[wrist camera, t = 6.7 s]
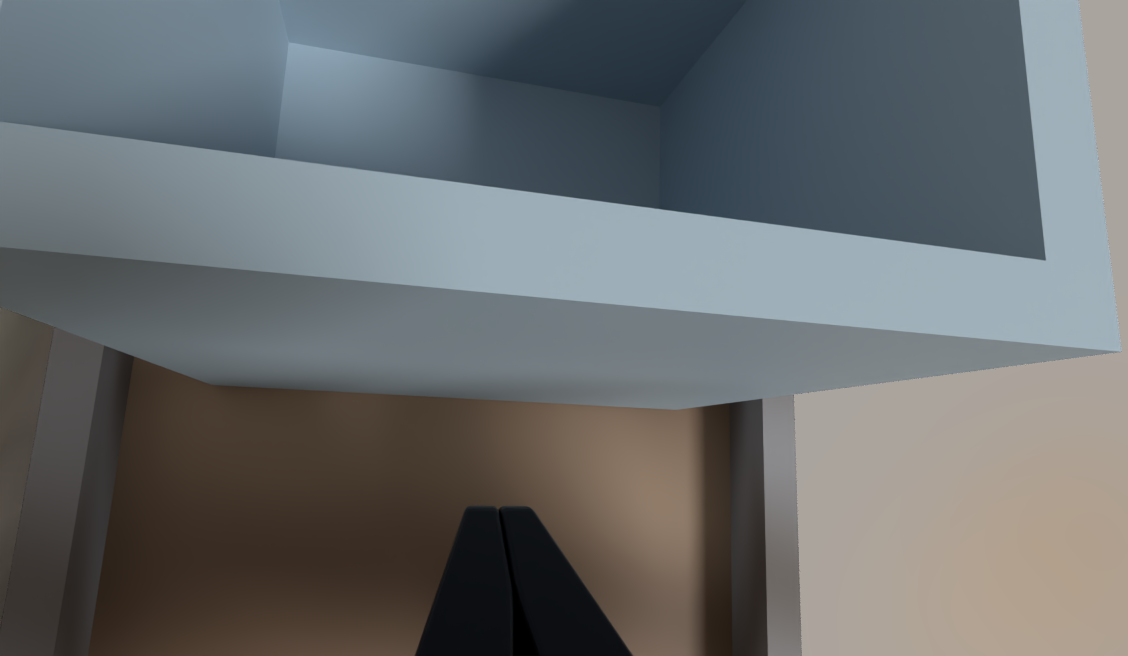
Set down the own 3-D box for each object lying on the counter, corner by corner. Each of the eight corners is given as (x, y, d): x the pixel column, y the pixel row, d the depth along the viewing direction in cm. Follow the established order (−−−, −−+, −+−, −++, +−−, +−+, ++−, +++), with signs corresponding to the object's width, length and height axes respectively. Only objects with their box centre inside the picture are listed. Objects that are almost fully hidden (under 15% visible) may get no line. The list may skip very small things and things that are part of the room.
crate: (676, 409, 16) (1120, 351, 6) (211, 385, 13) (-218, 227, 4) (677, 98, 17) (1038, -331, 8) (259, 24, 15) (36, -741, 5)
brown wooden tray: (750, 696, 16) (901, 799, 12) (33, 742, 13) (-178, 921, 8) (739, 47, 20) (853, -82, 15) (167, -70, 16) (75, -292, 11)
